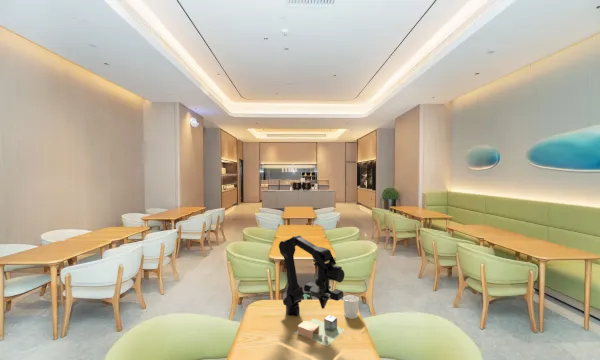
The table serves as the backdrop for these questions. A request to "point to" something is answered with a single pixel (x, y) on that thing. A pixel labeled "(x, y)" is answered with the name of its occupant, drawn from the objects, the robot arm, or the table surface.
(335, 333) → the board
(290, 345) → the table surface
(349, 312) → the white cup
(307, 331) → the cover
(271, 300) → the table surface
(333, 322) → the gray metal block
